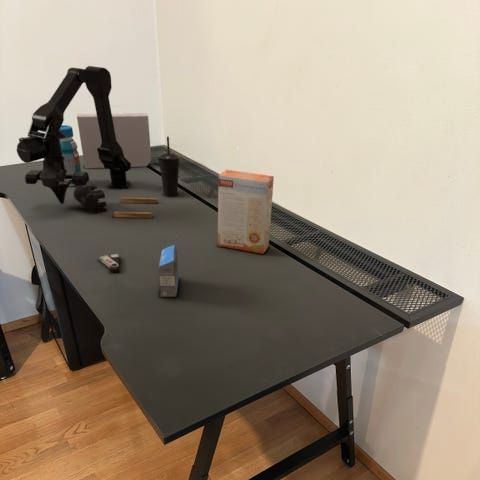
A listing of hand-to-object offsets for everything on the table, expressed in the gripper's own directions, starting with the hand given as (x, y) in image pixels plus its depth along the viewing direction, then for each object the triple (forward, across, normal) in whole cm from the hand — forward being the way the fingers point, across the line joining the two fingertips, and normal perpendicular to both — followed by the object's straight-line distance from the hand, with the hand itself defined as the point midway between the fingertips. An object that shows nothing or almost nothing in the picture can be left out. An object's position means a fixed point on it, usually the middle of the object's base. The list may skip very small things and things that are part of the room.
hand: (62, 203), depth 150 cm
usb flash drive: (+1, +24, -40) cm, 46 cm away
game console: (+2, +9, +48) cm, 49 cm away
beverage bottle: (+2, -4, +24) cm, 25 cm away
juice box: (+2, +40, -50) cm, 65 cm away
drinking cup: (+2, +34, +16) cm, 38 cm away
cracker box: (+2, +59, -26) cm, 65 cm away
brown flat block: (+2, +24, 0) cm, 24 cm away
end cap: (+2, +9, 0) cm, 9 cm away
